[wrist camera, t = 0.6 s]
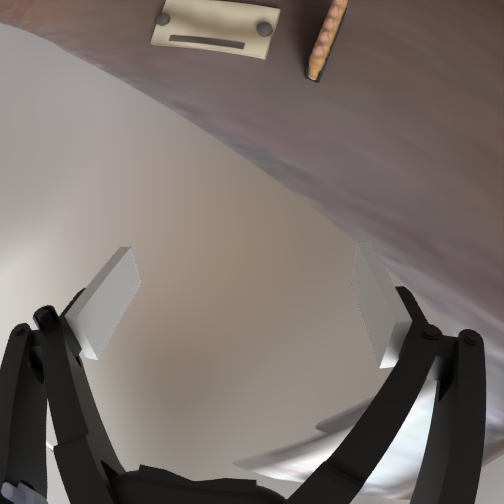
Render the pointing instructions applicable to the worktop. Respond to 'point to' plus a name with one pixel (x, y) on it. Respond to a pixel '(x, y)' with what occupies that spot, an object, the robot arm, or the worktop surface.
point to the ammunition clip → (326, 40)
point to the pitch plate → (216, 26)
